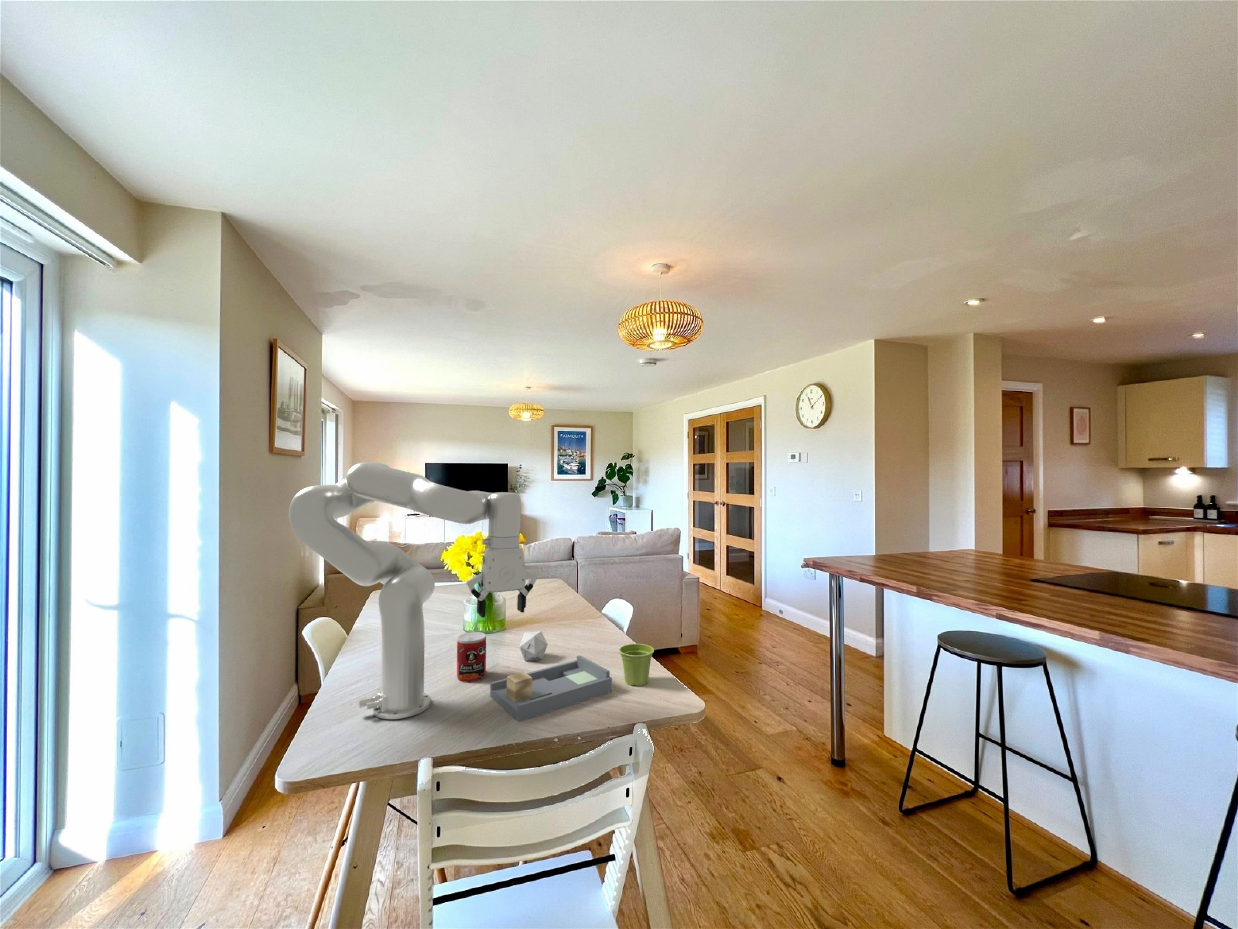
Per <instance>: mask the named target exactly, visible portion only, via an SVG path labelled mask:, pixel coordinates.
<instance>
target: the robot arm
mask: <svg viewBox="0 0 1238 929" xmlns="http://www.w3.org/2000/svg"><path fill="white" fill-rule="evenodd" d="M521 501H522V500H521V496H520V494H519V493H517V492H505V491H504V492H503V491H501V492H500V491H499V492H487V491H480V490H468V491H467V490H462V489H458V488H455V487H450V486H445V485H443V484H439V483H436V482H433V481H431V480H430V479H427V477H425V476H423V475H421V474H417V473H414V472H410V471H407V470H406V471H405V470H401V469H398V468H392V467H390V466H389V465H387V464H385V463H381V462H370V461H369V462H367V461H364V462H359V463H356V464H354V465H353V466H352V467H351V468H349V470H348V471H347V472H346V476H345V479H343V480H341V481H339V482H337V483H334V484H317V485H316V484H315V485H311V486H308V487H305V488H303V489H301V490H300V491H298V492H297V493H296V494H295V495H294V496H293V498H292V500H291V501H290V504H289V508H288V519H289V520H288V521H289V525H290V527H291V529H292V531H293V534H294V535H295V536H296V537H297V538H298V540H299V541H300V542H302V543H303V544H304V545H305V546H307V547H308V548H309V549H311V550H312V551H313V552H315V553H316V554H317V555H318V556H320V557H321V558H323V560H325V561H326V562H327V563H329V564H330V565H331V566H333V567H334V568H335V569H337V570H338V571H340V573H342V574H343V575H345V576H346V577H348V579H350V580H351V581H352V582H353V583H355V584H357V585H359V586H362V587H370V586H373V585H376V584H378V583H380V584H382V585H383V586H382V587H381V590H380V592H379V595H378V609H379V610H378V611H379V617H380V629H381V630H380V635H381V636H380V638H381V639H380V688H378V689H376V693H374V694H373V695H372V696H369V697H363V698H359V699H357V708H358V709H361V708H365V709H366V710H371V709H372V713H373V715H374V716H375V717H377V718H380V719H381V720H382V719H383V720H399V719H400V720H402V719H405V718H410V717H412V716H413V717H414V716H415V715H419V714H421V713H423V712H424V711H426V710H427V709H428V708H429V707H430V705H431V704H432V701H431V700H432V699H431V696H430V695H429V694H428V693H426V692H425V646H426V645H425V644H426V643H425V642H426V641H425V640H426V639H425V628H426V627H425V618H424V609H423V606H424V603H425V602H427V600H429V599H430V598H431V597H432V595H433V593H434V591H435V586H436V583H435V578H434V576H433V574H432V573H431V572H430V571H429V570H428V569H427V568H426V567H424V566H423V564H421V563H419V562H418V561H417V560H415V559H414V558H413V557H411V556H410V555H409V554H408V553H406V551H404V550H402V549H401V548H400V547H398V546H397V545H395V544H393V543H390V542H387V541H376V542H373V543H372V542H371V543H370V542H369V541H367V540H366V539H364V538H362V537H361V536H360V535H358V534H357V533H356V532H355V531H354V530H352V529H351V528H349V527H347V526H345V525H343V524H342V523H340V522H338V521H337V520H336V519H339V518H341V519H342V518H343V517H347V516H348V515H350V514H352V513H354V512H356V511H358V510H360V509H362V508H364V507H366V506H368V505H370V504H372V503H374V502H380V503H383V504H388V505H392V506H396V507H401V508H404V509H407V510H411V511H413V512H416V513H420V514H424V515H426V516H429V517H433V518H436V519H441V520H443V521H448V522H453V523H458V524H463V525H472V524H475V523H477V522H479V521H485V520H487V521H488V532H487V533H488V535H487V537H486V538H483V539H482V540H481V544H482V545H483V546H486V548H485V549H484V553H483V558H482V564H481V571H480V573H479V574H477V575H475V576H474V577H472V578H471V579H469V580H467V581H466V583H465V584H466V586H467V588H468V590H469V593H470V594H471V595H473V596H474V597H475V598H476V600H477V601H476V613H477V614H478V615H479V617H481V618H483V619H484V618H485V617H486V615H487V614H486V613H487V612H486V611H487V610H486V608H487V607H486V606H487V601H486V600H485V598H486V597H487V596H488V595H489V593H504V592H513V591H514V592H515V591H518V594H517V598H516V599H517V603H516V609H517V611H518V612H520V613H522V614H523V613H525V608H526V607H527V596H529V593H530V592H531V590H533V588H534V585H535V583H536V581H537V579H538V577H537V576H536V575H533V574H532V573H529V572H527V571H526V563H525V561H526V560H525V555H524V554H525V553H524V549H523V548H522V547H520V538H521V535H520V534H521V507H522V506H521V504H522V503H521ZM526 579H528V582H527V583H526ZM478 583H480V589H479V590H477V589H476V587H475V586H476V584H478Z"/></svg>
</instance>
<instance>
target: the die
mask: <svg viewBox="0 0 1238 929" xmlns="http://www.w3.org/2000/svg"><path fill="white" fill-rule="evenodd" d="M548 646H549V644H548V642H547V640H546V637H545V635H544V633H543V631H541V630H539V631H538V630H537V631H526V632H524V633H523V635H522V638H521V640H520V644H519V651H520V653H521V655H522V658H523V659H524V662H530V661H531V662H532V661H542V660H543V658H544V656H545V653H546V651H547V648H548Z"/></svg>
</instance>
